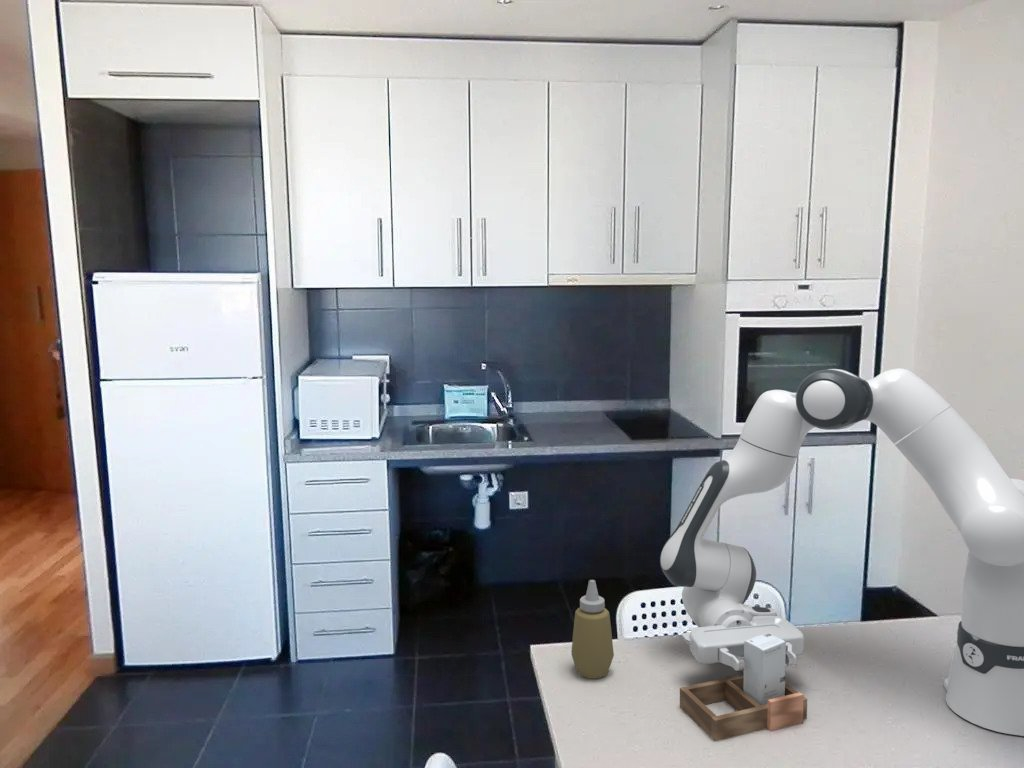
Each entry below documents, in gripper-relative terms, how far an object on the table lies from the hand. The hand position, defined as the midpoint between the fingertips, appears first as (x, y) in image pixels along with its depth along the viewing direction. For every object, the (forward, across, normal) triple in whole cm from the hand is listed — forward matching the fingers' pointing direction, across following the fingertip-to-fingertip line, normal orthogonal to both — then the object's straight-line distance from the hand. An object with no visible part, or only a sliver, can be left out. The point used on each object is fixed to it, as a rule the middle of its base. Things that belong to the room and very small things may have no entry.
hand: (766, 663), depth 125 cm
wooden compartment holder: (0, -4, +8) cm, 9 cm away
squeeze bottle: (-18, -26, +9) cm, 33 cm away
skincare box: (-1, 0, +9) cm, 9 cm away
